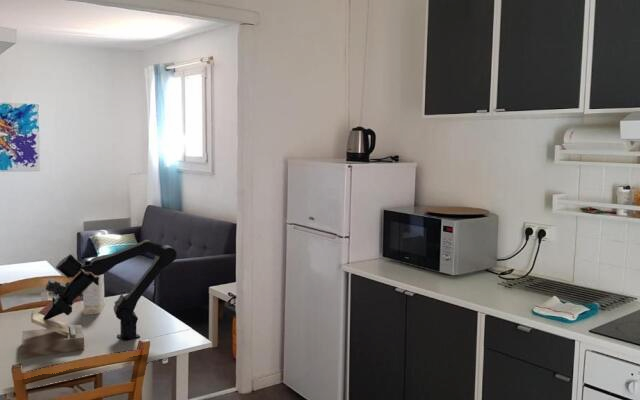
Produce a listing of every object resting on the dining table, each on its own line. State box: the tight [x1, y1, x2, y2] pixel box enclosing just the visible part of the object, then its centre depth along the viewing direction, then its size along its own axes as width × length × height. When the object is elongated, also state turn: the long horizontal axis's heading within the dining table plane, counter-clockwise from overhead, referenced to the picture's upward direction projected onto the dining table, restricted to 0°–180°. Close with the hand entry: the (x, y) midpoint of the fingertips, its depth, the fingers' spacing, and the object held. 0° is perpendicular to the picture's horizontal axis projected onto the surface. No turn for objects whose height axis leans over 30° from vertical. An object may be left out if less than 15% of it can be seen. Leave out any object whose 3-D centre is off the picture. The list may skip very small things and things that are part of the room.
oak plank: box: [30, 310, 69, 336], centre depth 201 cm, size 13×10×1 cm
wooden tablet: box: [37, 298, 78, 316], centre depth 248 cm, size 27×10×2 cm, turn 4°
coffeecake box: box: [82, 269, 105, 315], centre depth 247 cm, size 15×7×20 cm, turn 14°
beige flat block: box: [21, 323, 85, 359], centre depth 202 cm, size 20×15×6 cm
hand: (44, 319), depth 200 cm, fingers closed, pressing on oak plank
